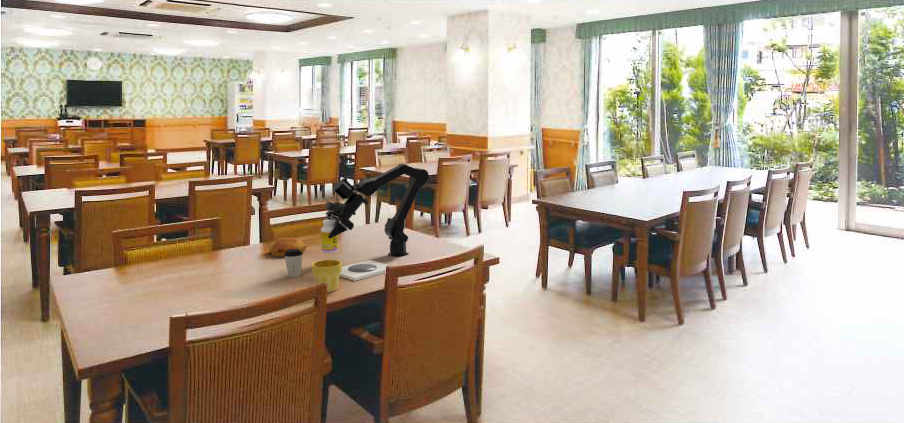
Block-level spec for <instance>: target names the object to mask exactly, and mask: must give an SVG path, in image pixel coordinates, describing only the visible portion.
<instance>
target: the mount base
mask: <svg viewBox="0 0 904 423" xmlns="http://www.w3.org/2000/svg"><path fill="white" fill-rule="evenodd" d="M387 265H388V264H386V263H383V262H379V261H374V260H371V259H367V260H363V261H360V262H355V263H351V264H348V265H344V266H343V265H342V272H341V273H340V276H341V277H340V278H344V279H347V278H348V280H350V279H351V281H353V280H354V282H356V280H357V281H360V279H361V280H365V279H368V278H372V277H374V276H375V277H376V276H378V275H382V274H385V268H386V266H387Z"/></svg>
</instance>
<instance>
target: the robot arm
mask: <svg viewBox="0 0 904 423" xmlns="http://www.w3.org/2000/svg"><path fill="white" fill-rule="evenodd" d="M403 175H405V176H408V187H407V189H406V191H405V193H404V196H403V197H402V200H401V201H400V204H399V206H398V207H397V210H396V212H395V213H394V216H393V217H392V218H391V217H387V219H386V223H385V224H384V225H383V226H384V230H383V231H384V233H385V236H387V237H388V239H389V240H390V242H389V252H388V255H390V256H394V257H401V256H406V255H409V254H410V253H409V252H407V242H408V240H409V236H408V235H407V234H406V233H405V232H404V231H405V224H406V223H405V221H406V218H407V216H408V214H409V212H410V209H411V208H412V205H413V204H414V202H415V199H416V197H417V195H418V193H419V191H420V190H421V189H422V188H423V187H424V186H425V185H426V184H427V182H428V180H429V178H430V174H429V172H428V170H426V169H424V168H421V167H420V168H419V167H412V166H409V165H407V164H406V163H399V164H398V165H396V166H394V167H393V168H390V169H388V170H386V171H385V172H383V173H381V174H379V175H376V176H374V177H371V178H367V179H362V180H360V181H359V182H358V183H356V184H351V183H350V182H349V181H348V180H347V179H346V178H345V177H343V178H342V179H341V180H338V181H337V182H336V183H335V184H334V185H333V186H332V192H334V193H335V194H336V195H337V196H338V197H340V198H341V199H342V200H345V201H344V203H343V202H342V203H340V202H337V201H335V202H331V201H328V200H327V201H326V203H325V206H324V209H326V210H327V211H326V213H325V215H326V220H335V224H334V228H333V230H332V231H331V233H330V234H329V236H328V237H329V238H332V237H334V236H336V235H340V234H342V233H345V232H347V231H352V230H353V229H354V227H355V223H354V222H352V221H351V220H350V219H351V218H352V217H353V216H355V215H356V214H357V213H356V211H357V210H358V209H359V208H360V206H362V204H363V205H367V206H368V204H369V202H368V199H369V198H367V197H370V196H372V195H373V194H375V193H376V192H377V191H378V190H379V189H380V188H381V187H382V186H384V185H386V184H388V183H390V182H391V181H394V180H395V179H398V178H400V177H401V176H403ZM356 192H357V193H356ZM362 195H363V196H362ZM364 196H365V197H364Z"/></svg>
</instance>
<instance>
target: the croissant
mask: <svg viewBox="0 0 904 423" xmlns="http://www.w3.org/2000/svg"><path fill="white" fill-rule="evenodd" d="M289 249H299V250H300V251H301V252H302V253H303V254H304V252H305V251H306V249H307V246H306V244H305V243H304V242H303V241H302V240H300V238H296V237H278V238H277V239H276V240H275V241H274V242H272V243H270V246H269V253H270V254H271V253H272V254H271V255H272V257H276V256H284V254H285V253H286V250H289Z"/></svg>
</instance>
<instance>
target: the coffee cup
mask: <svg viewBox="0 0 904 423" xmlns="http://www.w3.org/2000/svg"><path fill="white" fill-rule="evenodd" d="M303 254H304V252H303V253H302V252H301V251H300V250H299V249H289V250H286V253H285V254H284V256H285V257H284V260H285V264H286V270H287V276H288V277H289V278H295V279H296V278H299V277H301V275H302V264H303V263H302V261H303Z"/></svg>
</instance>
